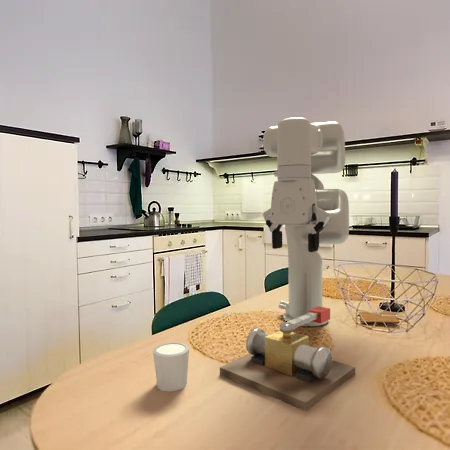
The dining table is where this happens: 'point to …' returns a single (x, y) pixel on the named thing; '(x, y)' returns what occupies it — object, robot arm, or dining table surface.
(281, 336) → the valve pipe
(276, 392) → the valve board
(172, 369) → the white cup
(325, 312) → the valve lever
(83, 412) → the dining table surface
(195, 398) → the dining table surface
